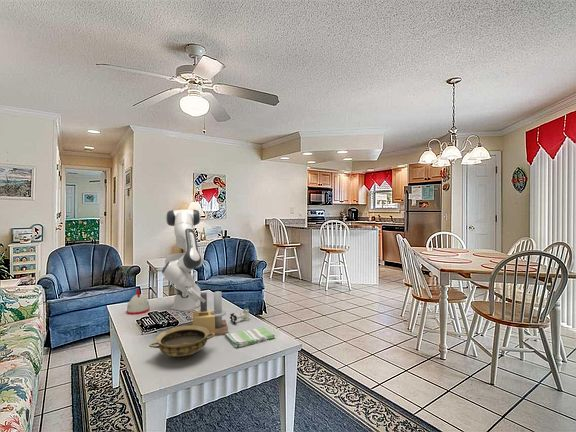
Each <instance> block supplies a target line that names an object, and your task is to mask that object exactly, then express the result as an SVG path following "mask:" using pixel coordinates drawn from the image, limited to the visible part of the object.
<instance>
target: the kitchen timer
mask: <svg viewBox="0 0 576 432" xmlns="http://www.w3.org/2000/svg"><path fill="white" fill-rule="evenodd" d="M149 304H150V303H149V300H148V299H147V298H146V297H145V295H142V294H141V293H140V290H139V289H136V291H135V294H134V295H133V296H132V297H131V299H129V301H128V302H127V307H126V313H127V315H130V316H134V315H142V314H146V313H147V312H149V311H150V305H149Z"/></svg>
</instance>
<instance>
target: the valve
mask: <svg viewBox="0 0 576 432" xmlns="http://www.w3.org/2000/svg"><path fill="white" fill-rule="evenodd" d="M249 311H250V309H249V308H243V310H242V313H240V314H239V315H235V313H234V312H233V313H230V316H229V319H230V323H232V325H235V324H237V321H238V319H241V320H243V322H246V321H249V320H250V312H249Z"/></svg>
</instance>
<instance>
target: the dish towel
mask: <svg viewBox="0 0 576 432" xmlns="http://www.w3.org/2000/svg"><path fill="white" fill-rule="evenodd" d="M275 336H276V334H274V333H271V332H270V331H268V330H267V329H266V328H265V327H264V326H262V327H257V328H252V329H248V330H244V331H238V332H234V333H233V332H232V333H229V332H228V333H227V334H225V335H224V339H225V340H226V341H227V342H229V344H230V345H231V346H232V347H233V348H234V349H238V347H239V348H244V347H247V345H248V346H252V345H255V344H254V343H256V344H259V343H258V342H260V343H264V342H263V341H265V342H267V341H266V340H269V341H271V340H275V339H276V338H275ZM251 344H252V345H251ZM243 346H244V347H243Z"/></svg>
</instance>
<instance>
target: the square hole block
mask: <svg viewBox="0 0 576 432" xmlns="http://www.w3.org/2000/svg"><path fill="white" fill-rule="evenodd" d="M222 295H223V294H222V291H219V290H217V291H214V292H213V309H207V312H200V310H197V311H192V323H193V326H201V327H204V328H206V329H208V331H215V327H216V328H219V327H222V320H223V317H224V316H226V315H227V312H226V311H225V310H223V309H222V308H223V307H222V306H223V304H222V303H223V299H222V298H223V297H222Z"/></svg>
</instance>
